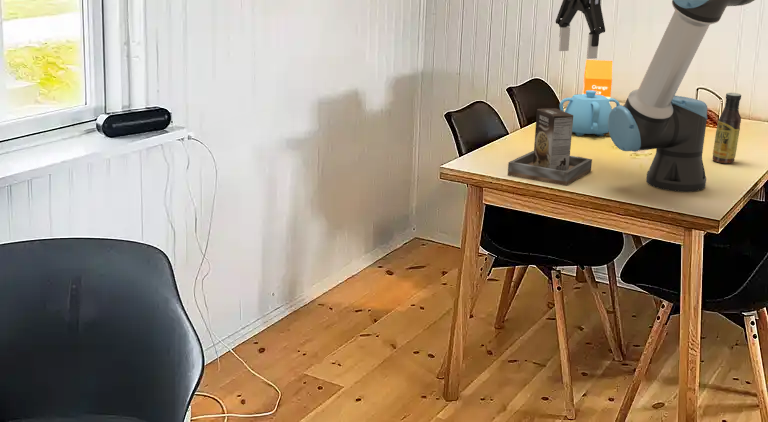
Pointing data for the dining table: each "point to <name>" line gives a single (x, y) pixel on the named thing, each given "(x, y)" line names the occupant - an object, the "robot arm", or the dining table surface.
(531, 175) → the tray
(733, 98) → the sauce bottle
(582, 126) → the decorative pot
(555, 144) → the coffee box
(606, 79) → the orange juice
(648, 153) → the dining table surface
